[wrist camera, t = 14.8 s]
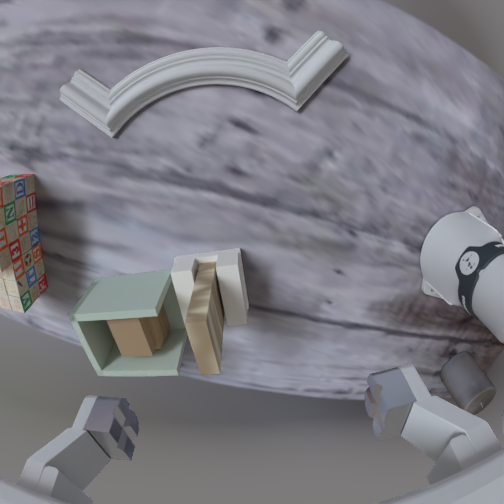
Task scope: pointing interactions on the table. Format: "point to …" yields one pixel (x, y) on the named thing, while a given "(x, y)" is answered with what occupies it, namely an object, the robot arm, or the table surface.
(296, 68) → the molding
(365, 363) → the table surface
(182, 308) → the holder
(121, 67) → the table surface
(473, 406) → the pillar candle
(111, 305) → the rack
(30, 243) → the stack of blocks
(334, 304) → the table surface
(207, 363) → the rectangular block
